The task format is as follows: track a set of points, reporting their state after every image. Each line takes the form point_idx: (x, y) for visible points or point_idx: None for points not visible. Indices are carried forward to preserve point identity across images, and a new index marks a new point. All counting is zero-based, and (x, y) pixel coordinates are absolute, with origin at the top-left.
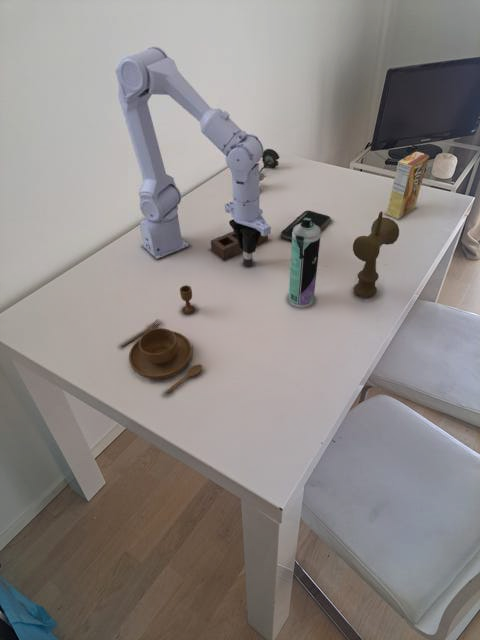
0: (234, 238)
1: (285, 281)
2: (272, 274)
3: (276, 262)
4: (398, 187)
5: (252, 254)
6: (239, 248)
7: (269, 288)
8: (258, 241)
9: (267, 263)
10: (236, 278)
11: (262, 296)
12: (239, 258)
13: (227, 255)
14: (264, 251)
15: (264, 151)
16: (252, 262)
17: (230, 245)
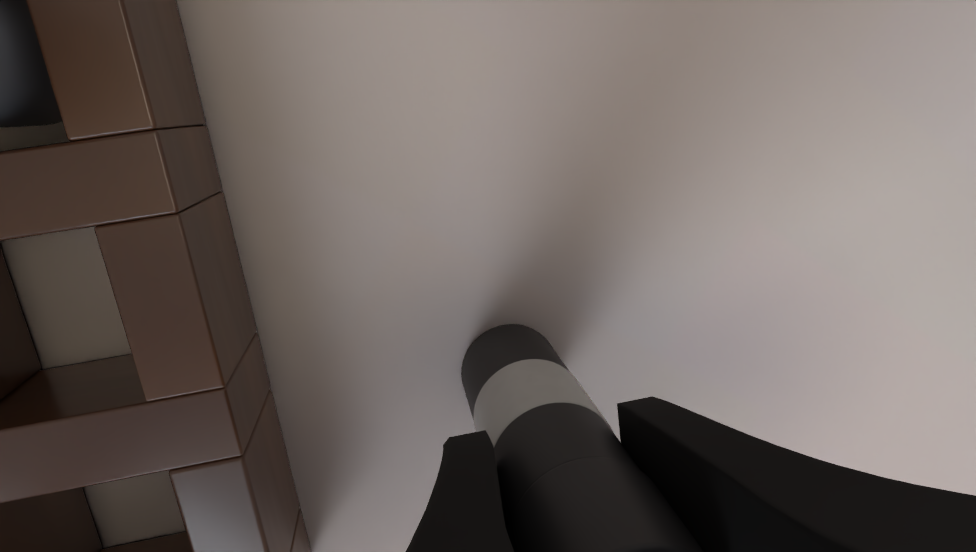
0: (75, 436)
1: (941, 180)
2: (786, 232)
3: (643, 79)
4: None
5: (573, 381)
6: (252, 388)
7: (923, 359)
8: (178, 64)
9: (604, 179)
10: None
11: (960, 455)
12: (359, 402)
13: (296, 536)
14: (372, 79)
15: None
16: (545, 342)
17: (235, 546)
